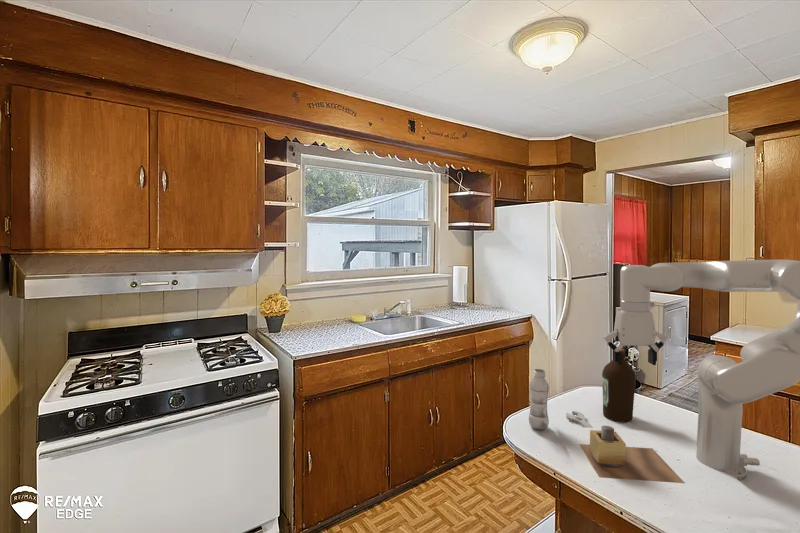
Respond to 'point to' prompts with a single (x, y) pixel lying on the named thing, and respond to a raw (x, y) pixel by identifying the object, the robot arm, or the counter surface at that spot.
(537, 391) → the plastic bottle
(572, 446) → the counter surface
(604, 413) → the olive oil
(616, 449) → the brass collar
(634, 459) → the shaft board
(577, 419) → the adjustable wrench
